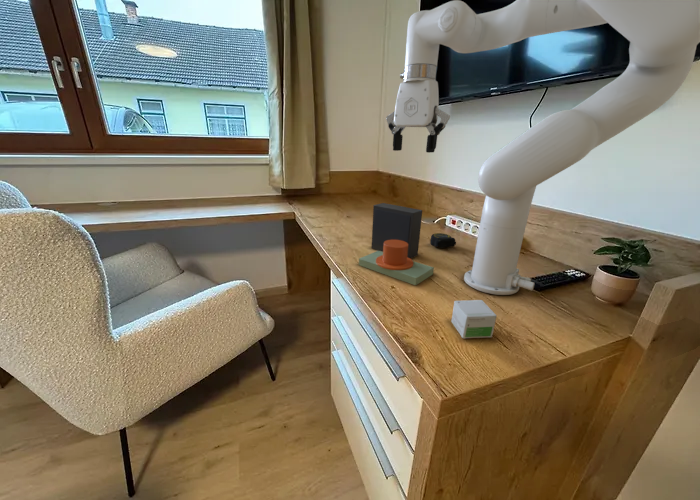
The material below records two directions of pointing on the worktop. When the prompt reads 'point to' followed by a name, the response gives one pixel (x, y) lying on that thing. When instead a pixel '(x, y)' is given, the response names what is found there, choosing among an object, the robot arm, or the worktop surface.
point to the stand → (409, 275)
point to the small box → (473, 319)
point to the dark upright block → (396, 226)
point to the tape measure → (442, 240)
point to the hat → (395, 256)
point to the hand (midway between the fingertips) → (413, 151)
